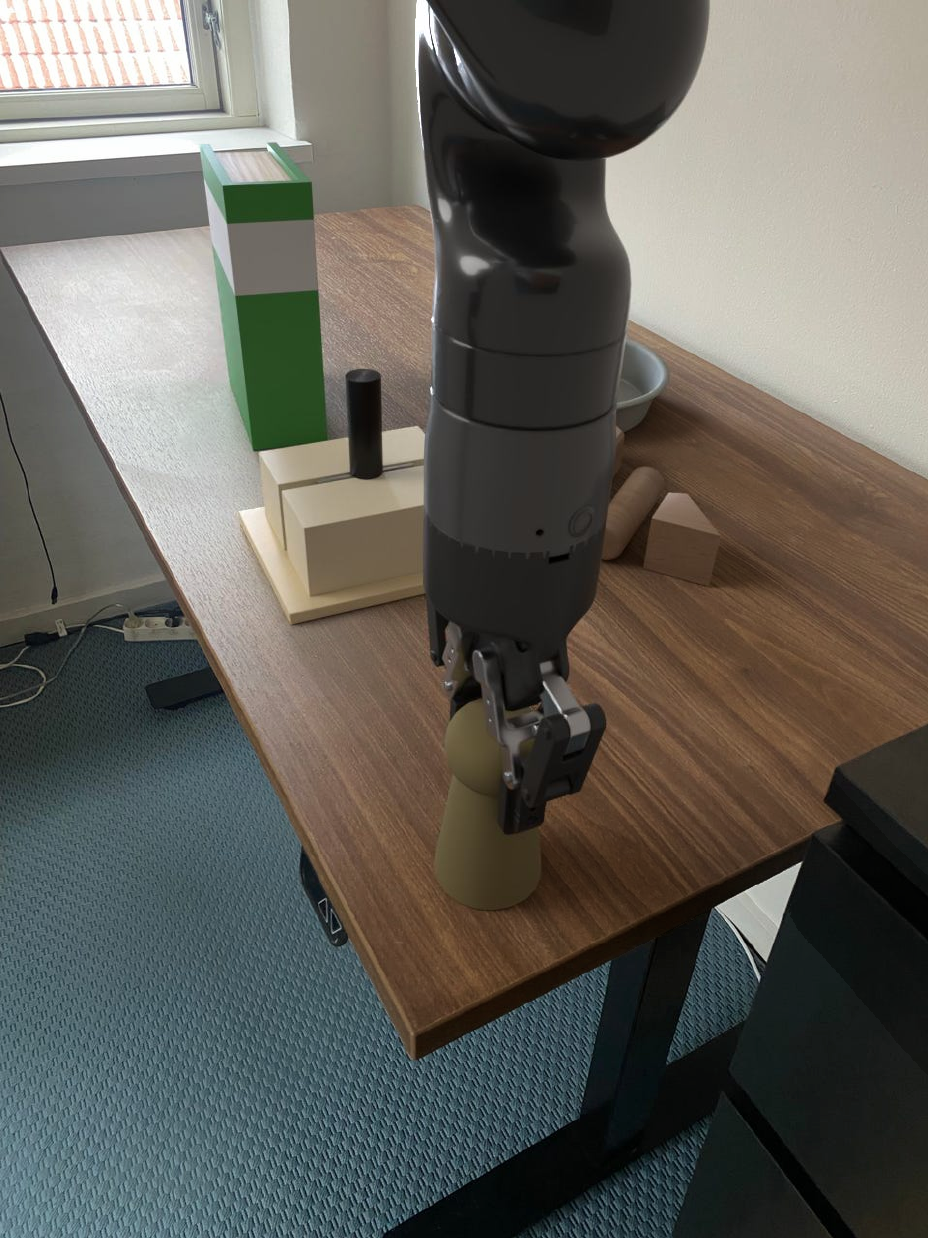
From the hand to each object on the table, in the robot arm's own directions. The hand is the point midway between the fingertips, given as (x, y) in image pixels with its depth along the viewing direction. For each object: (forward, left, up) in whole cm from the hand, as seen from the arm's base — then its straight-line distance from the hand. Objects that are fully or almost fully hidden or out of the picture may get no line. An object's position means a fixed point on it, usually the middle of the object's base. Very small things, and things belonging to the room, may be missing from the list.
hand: (494, 784), depth 48 cm
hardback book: (+5, +62, -7) cm, 63 cm away
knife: (+5, +33, -5) cm, 34 cm away
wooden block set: (+29, +29, -7) cm, 42 cm away
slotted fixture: (+5, +33, -6) cm, 34 cm away
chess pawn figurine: (0, 0, -7) cm, 7 cm away
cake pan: (+34, +54, -7) cm, 64 cm away
